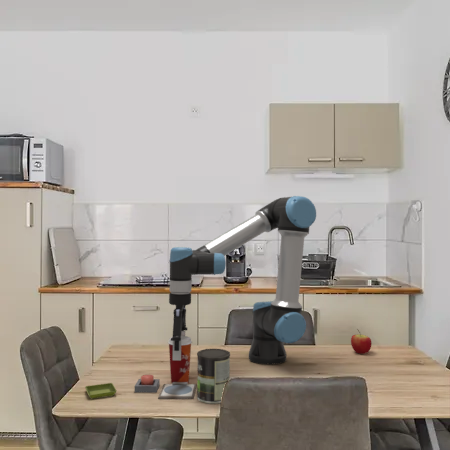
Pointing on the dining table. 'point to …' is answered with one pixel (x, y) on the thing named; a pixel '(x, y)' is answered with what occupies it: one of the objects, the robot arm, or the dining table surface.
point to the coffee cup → (180, 367)
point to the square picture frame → (178, 391)
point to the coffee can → (212, 374)
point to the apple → (361, 343)
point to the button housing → (147, 386)
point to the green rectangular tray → (101, 390)
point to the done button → (147, 380)
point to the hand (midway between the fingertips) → (179, 354)
